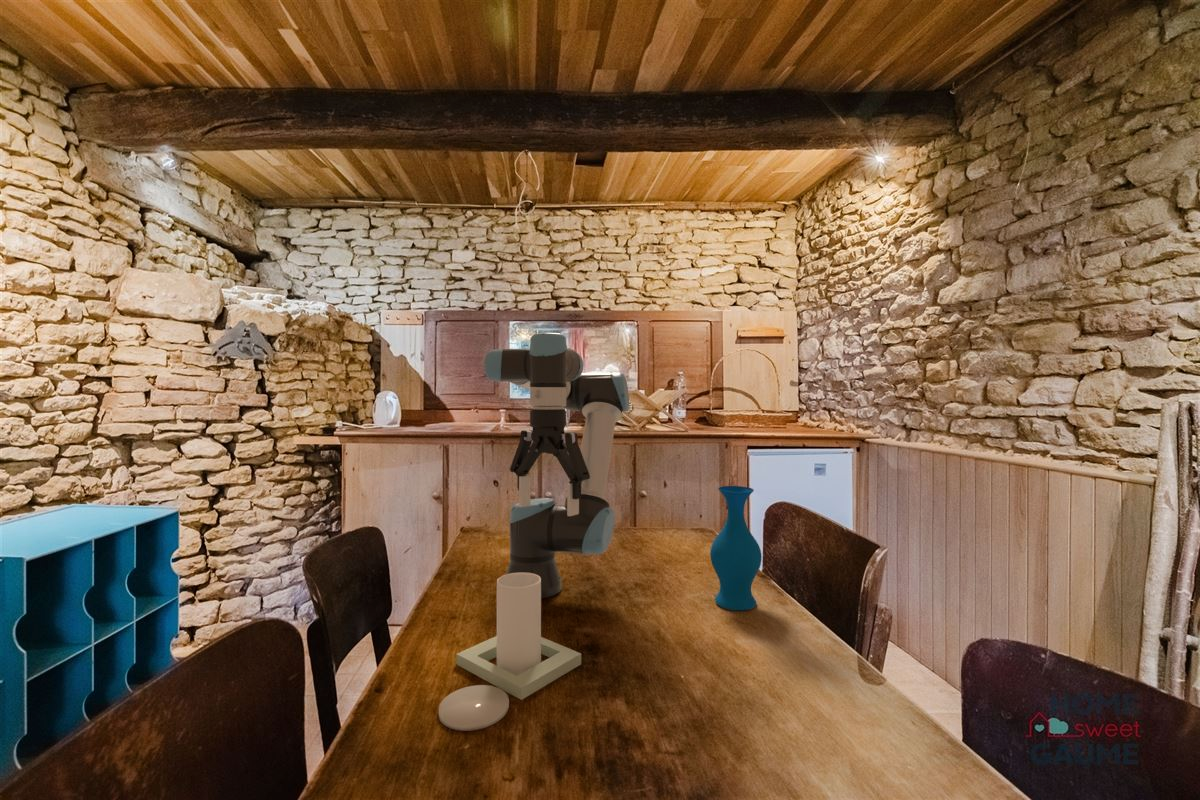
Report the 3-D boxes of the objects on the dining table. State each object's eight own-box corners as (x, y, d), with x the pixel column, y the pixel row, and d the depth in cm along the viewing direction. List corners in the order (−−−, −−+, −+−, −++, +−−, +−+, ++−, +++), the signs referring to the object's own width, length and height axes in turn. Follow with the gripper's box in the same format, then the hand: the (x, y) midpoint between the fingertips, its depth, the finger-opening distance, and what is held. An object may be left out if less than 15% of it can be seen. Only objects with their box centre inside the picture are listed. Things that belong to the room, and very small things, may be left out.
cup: (532, 678, 93) (532, 589, 93) (489, 673, 95) (489, 585, 95) (546, 656, 101) (546, 573, 101) (506, 651, 103) (506, 570, 103)
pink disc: (424, 711, 83) (424, 706, 83) (480, 682, 92) (480, 678, 92) (466, 740, 76) (466, 735, 76) (523, 706, 85) (523, 701, 85)
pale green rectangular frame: (456, 664, 98) (456, 653, 98) (516, 636, 109) (516, 626, 109) (521, 699, 86) (521, 687, 86) (581, 664, 98) (581, 653, 98)
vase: (762, 597, 131) (762, 486, 131) (760, 617, 119) (760, 495, 119) (713, 591, 135) (713, 483, 135) (707, 610, 123) (707, 491, 123)
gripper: (493, 407, 113) (493, 505, 113) (583, 409, 98) (583, 522, 98) (519, 407, 119) (518, 500, 119) (607, 408, 104) (607, 515, 104)
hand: (548, 510), depth 108 cm, fingers open, 13 cm apart
